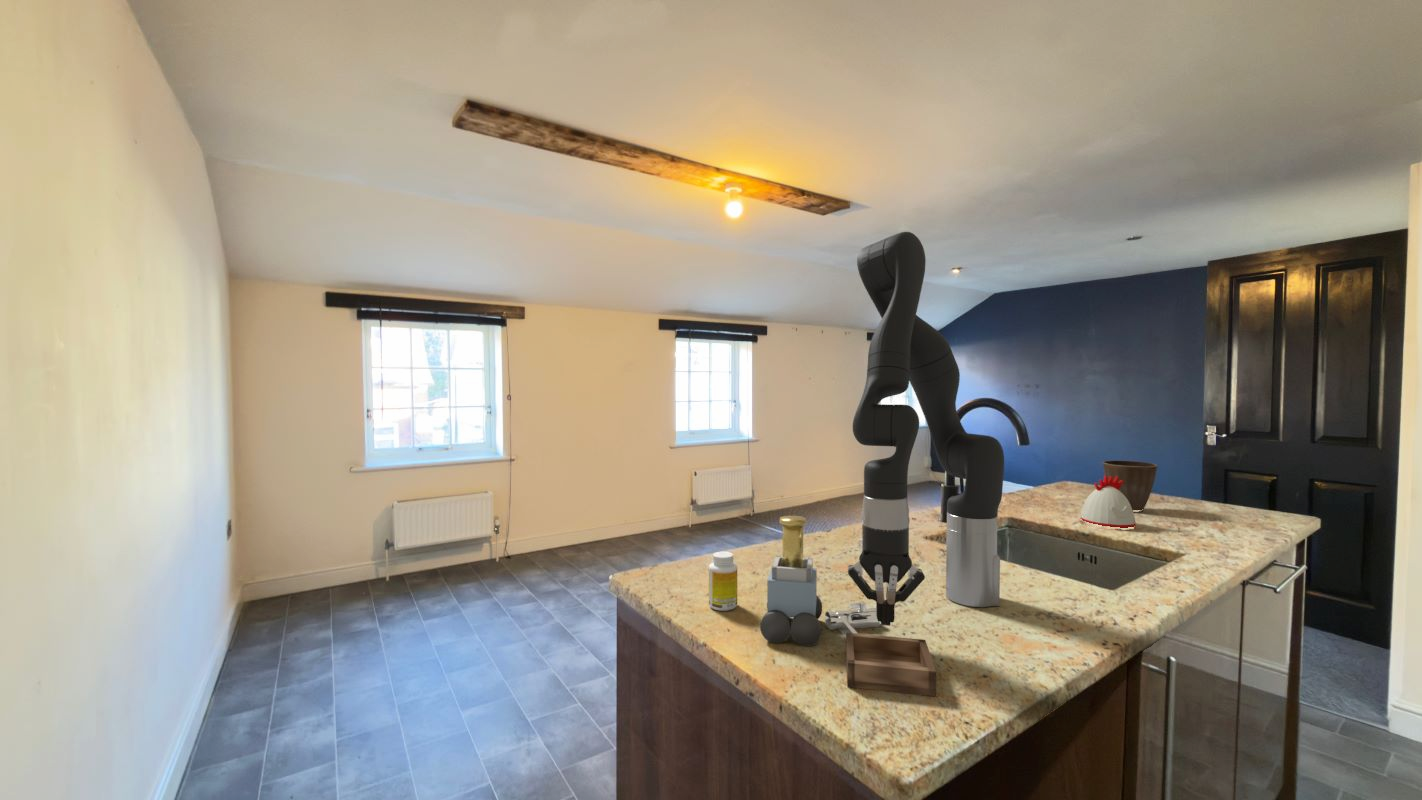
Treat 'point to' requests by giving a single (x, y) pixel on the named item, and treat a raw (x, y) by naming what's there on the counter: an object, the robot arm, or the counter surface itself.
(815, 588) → the trolley
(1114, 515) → the kitchen timer
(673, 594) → the counter surface
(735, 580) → the supplement bottle
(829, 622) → the grey metal piece
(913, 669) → the tray
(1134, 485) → the plant pot
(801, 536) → the stop pin
